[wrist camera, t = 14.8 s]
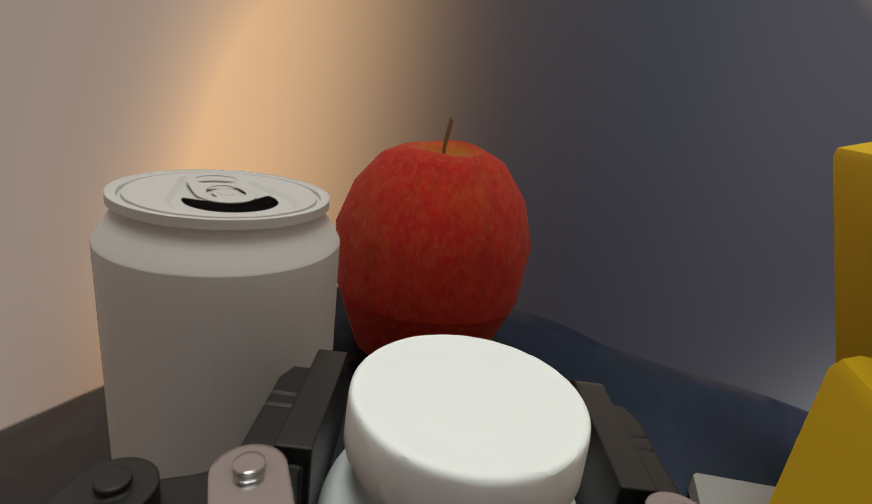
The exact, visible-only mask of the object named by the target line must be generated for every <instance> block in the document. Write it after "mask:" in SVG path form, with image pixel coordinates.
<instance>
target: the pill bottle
mask: <svg viewBox="0 0 872 504" xmlns="http://www.w3.org/2000/svg"><path fill="white" fill-rule="evenodd" d="M590 435H591V421H590V416H589V412H588V410H587V407H586V405H585V403H584V401H583V399H582V398H581V396H580V394H579V393H578V392H577V390H576V389H575V388H574V387H573V386H572V384H571V383H570V382H569V381H568V380H567V379H566V378H564V377H563V376H562V375H561V374H560V373H558V372H557V371H556V370H555V369H553V368H552V367H550V366H549V365H547V364H546V363H544V362H543V361H541V360H539V359H537V358H535V357H534V356H531V355H529V354H526V353H524V352H522V351H520V350H518V349H515V348H513V347H510V346H507V345H504V344H501V343H497V342H494V341H491V340H486V339H481V338H475V337H470V336H462V335H423V336H414V337H409V338H405V339H402V340H398V341H395V342H392V343H390V344H388V345H386V346H383V347H381V348H379V349H378V350H376V351H374V352H373V353H372V354H370V355H369V356H368V357H367V358H365V359H364V361H363V362H362V363H361V364H360V365H359V366H358V367H357V369H356V371H355V373H354V375H353V377H352V380H351V383H350V388H349V393H348V401H347V411H346V420H345V427H344V445H345V449H344V451H343V452H342V453H341V454H340V456H339V457H338V458H337V459H336V461H335V462H334V464H333V466H332V467H331V469H330V471H329V473H328V475H327V477H326V478H325V480H324V483H323V485H322V488H321V491H320V495H319V499H318V503H317V504H576V501H575V499H574V498H575V496H576V494H577V492H578V490H579V487H580V484H581V479H582V475H583V471H584V466H585V462H586V457H587V453H588V448H589V443H590Z"/></svg>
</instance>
